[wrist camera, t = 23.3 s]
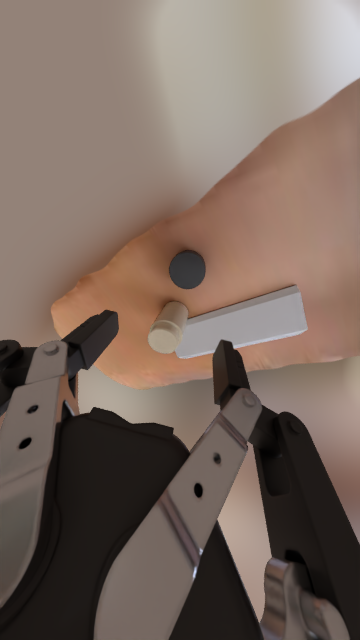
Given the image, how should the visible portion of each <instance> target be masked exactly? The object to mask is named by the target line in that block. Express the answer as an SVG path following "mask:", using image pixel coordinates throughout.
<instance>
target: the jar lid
mask: <svg viewBox="0 0 360 640" xmlns="http://www.w3.org/2000/svg"><path fill="white" fill-rule="evenodd" d="M169 273H170V277H171V279H172V281H173V282H174V283H175V284H176V285H177V286H178V287H180V288H183V289H192V288H195V287H197V286H198V285H199V284H200V283H201V282H202V281H203V279H204V276H205V262H204V260H203V258H202V257H201V255H200V254H198V253H197V252H195V251H192V250H185V251H182V252H180V253H179V254H177V255H176V256H175V257H174V259H173V260H172V262H171V264H170V267H169Z"/></svg>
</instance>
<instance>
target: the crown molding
mask: <svg viewBox="0 0 360 640" xmlns="http://www.w3.org/2000/svg"><path fill="white" fill-rule="evenodd" d="M307 329H308V328H307V323H306V318H305V313H304V308H303V303H302V298H301V293H300V291H299V289H298V287H297V285H295V286H292V287H289V288H285V289H282V290H279V291H276V292H273V293H270V294H266V295H263V296H260V297H257V298H254V299H251V300H247V301H244V302H241V303H238V304H235V305H232V306H228V307H225V308H222V309H219V310H216V311H213V312H209V313H206V314H203V315H200V316H197V317H194V318H190V319H188V320H187V323H186V327H185V331H184V334H183V338H182V341H181V343H180V344H179V345H178V346H177V348H176V350H175V352H176V354H177V356H178V358H185V359H186V358H191V357H196V356H200V355H205V354H210V353H214V352H215V350H216V348H217V346H218V344H219V342H220V340H221V339H223V340H227V341H231V342H232V344H233V348H238V347H243V346H248V345H252V344H257V343H262V342H267V341H271V340H276V339H281V338H285V337H290V336H295V335H300V334H301V333H303V332H304V331H306V330H307Z"/></svg>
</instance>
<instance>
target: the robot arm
mask: <svg viewBox="0 0 360 640" xmlns="http://www.w3.org/2000/svg"><path fill="white" fill-rule="evenodd" d="M118 330H119V325H118V314H117V312H114V311H110V310H105V311H103V312H102V313H101V314H100V315H98V314H97V315H95V316H92V317H90V318H89V319H87V320H86V321H85V322H84V323H82V324H81V325H80V326H78V327H77V328H76V329H75V330H73V331H72V332H71V333H70V334H68V335H67V336H66V337H65V338H63V339H62V340H61V341H59V340H58V341H51V342H47V343H44V344H42V345H41V346H39V347H21V346H20V344H19V343H18V342H17V341H15V340H2V341H0V416H1V415H3V413H4V412H6V411H7V412H6V415H5V418H4V420H3V424H2V426H1V429H0V640H360V544H359V542H358V540H357V538H356V536H355V533H354V531H353V529H352V527H351V524H350V522H349V520H348V518H347V516H346V514H345V511H344V509H343V507H342V504H341V502H340V500H339V498H338V496H337V494H336V491H335V489H334V487H333V485H332V482H331V480H330V478H329V476H328V474H327V471H326V469H325V467H324V465H323V463H322V461H321V458H320V456H319V454H318V452H317V450H316V447H315V445H314V443H313V441H312V438H311V436H310V434H309V432H308V430H307V428H306V427H305V425H304V424H303V423H302V422H301V421H300V420H299V419H298V418H297V417H296V416H294V415H293V414H291V413H289V412H281V413H280V414H277V413H275V412H273V411H272V410H270V409H268V408H266V407H265V406H263V405H262V404H261V402H260V400H259V398H258V397H257V396H256V395H255V394H254V393H253V392H252V391H251V390H250V386H249V382H248V378H247V375H246V371H245V367H244V364H243V360H242V356H241V355H240V353H239V352H238V351H237V350H234V348H233V344H232V342H231V341H227V340H223V339H221V340H220V342H219V344H218V346H217V348H216V350H215V352H214V354H213V360H212V361H213V382H214V402H215V404H217V405H220V409H221V411H220V412H219V413H218V415H217V416H216V418H215V419H214V420H213V421H212V423H211V424H210V425H209V427H208V428H207V429H206V431H205V432H204V433H203V435H202V436H201V437H200V439H199V440H198V441H197V442H196V444H195V445H194V446H193V448H192V449H191V451H190V452H189V450H188V449H187V447H186V446H185V444H184V443H183V442H182V441H181V440H180V439H179V438H178V437H177V436H175V435H174V434H173V430H174V428H172V427H168V426H165V425H160V424H157V423H138V424H132V423H129V422H128V421H126V420H125V419H123V418H122V417H120V416H119V415H117V414H116V413H114V412H112V411H108V410H104V409H100V408H96V407H93V409H92V410H91V412H90V413H84V414H80V413H79V407H78V371H79V370H80V369H81V368H82V369H85V370H88V369H89V368H90V367H91V366H92V365H93V363H94V362H95V361H96V360H97V358H98V357H99V356H100V355H101V354H102V352H103V351H104V350H105V349H106V347H107V346H108V345H109V344H110V343H111V341H112V340H113V339H114V338H115V336H116V335H117V333H118ZM247 441H248V442H250V443H251V444H253V448H254V454H255V460H256V466H257V472H258V478H259V484H260V489H261V495H262V501H263V507H264V513H265V519H266V525H267V531H268V536H269V543H270V548H271V554H272V558H271V559H270V560H269V561H268V562H267V565H266V568H265V574H264V591H265V608H264V613H263V617H262V619H261V621H260V623H259V622H258V619H257V617H256V614H255V611H254V609H253V606H252V604H251V601H250V599H249V597H248V594H247V592H246V589H245V587H244V584H243V582H242V580H241V577H240V574H239V572H238V570H237V567H236V564H235V562H234V559H233V557H232V555H231V552H230V550H229V547H228V545H227V542H226V540H225V537H224V535H223V532H222V530H221V527H220V525H219V522H218V520H217V518H218V516H219V514H220V512H221V509H222V507H223V505H224V503H225V500H226V498H227V496H228V494H229V491H230V489H231V487H232V485H233V483H234V480H235V478H236V476H237V474H238V471H239V469H240V467H241V465H242V462H243V460H244V458H245V456H246V453H247V450H248V446H247Z"/></svg>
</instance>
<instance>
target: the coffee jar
mask: <svg viewBox="0 0 360 640" xmlns="http://www.w3.org/2000/svg"><path fill="white" fill-rule="evenodd" d="M187 320H188V310H187V308H186V307H185V306H184V305H183V304H182V303H180V302H175V301H173V302H169V303H167V304H166V305H165V306H164V308H163V309H162V311H161V312H160V314H159V315H158V317H157V318H156V320H155V321H154V323H153V324H152V326H151V328H150V333H149V335H148V343H149V345H150V346H151V347H152V349H154V350H155V351H157V352H159V353H163V354H168V353H172V352H173V351H175V350H176V348H177V346H178V345H179V344H180V343H181V341H182V338H183V334H184V331H185V327H186V323H187Z"/></svg>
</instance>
